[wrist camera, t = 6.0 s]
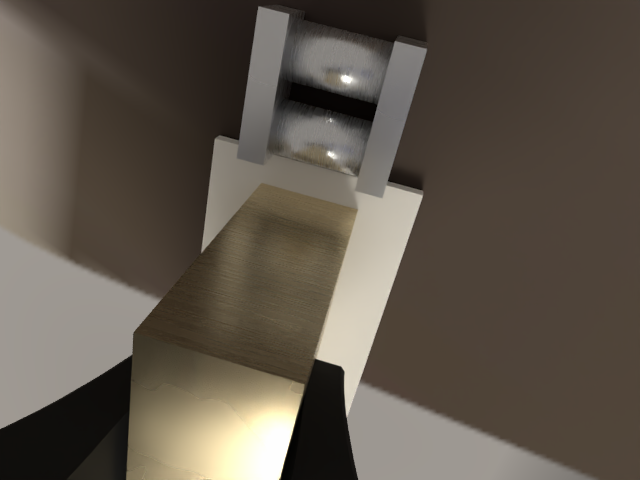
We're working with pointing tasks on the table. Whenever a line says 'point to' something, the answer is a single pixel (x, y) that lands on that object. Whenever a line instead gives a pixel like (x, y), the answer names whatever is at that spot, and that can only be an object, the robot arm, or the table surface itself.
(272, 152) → the chain ends
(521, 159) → the table surface
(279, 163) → the pad
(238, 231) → the wood grain block
